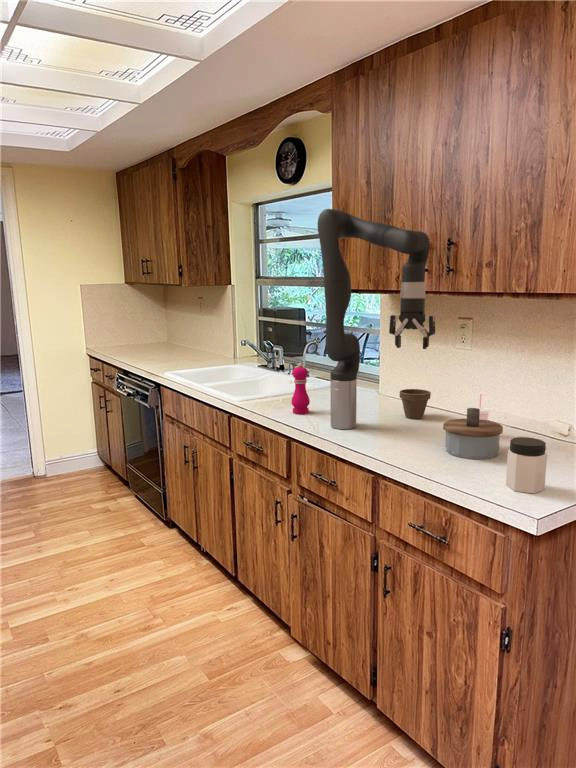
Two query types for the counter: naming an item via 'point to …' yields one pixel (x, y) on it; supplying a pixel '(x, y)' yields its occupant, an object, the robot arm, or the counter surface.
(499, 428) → the walnut lid
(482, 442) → the grey hollow cylinder
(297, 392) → the pepper mill
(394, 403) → the counter surface
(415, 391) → the flower pot
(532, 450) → the jar
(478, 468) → the counter surface
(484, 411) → the beverage cup
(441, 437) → the counter surface
